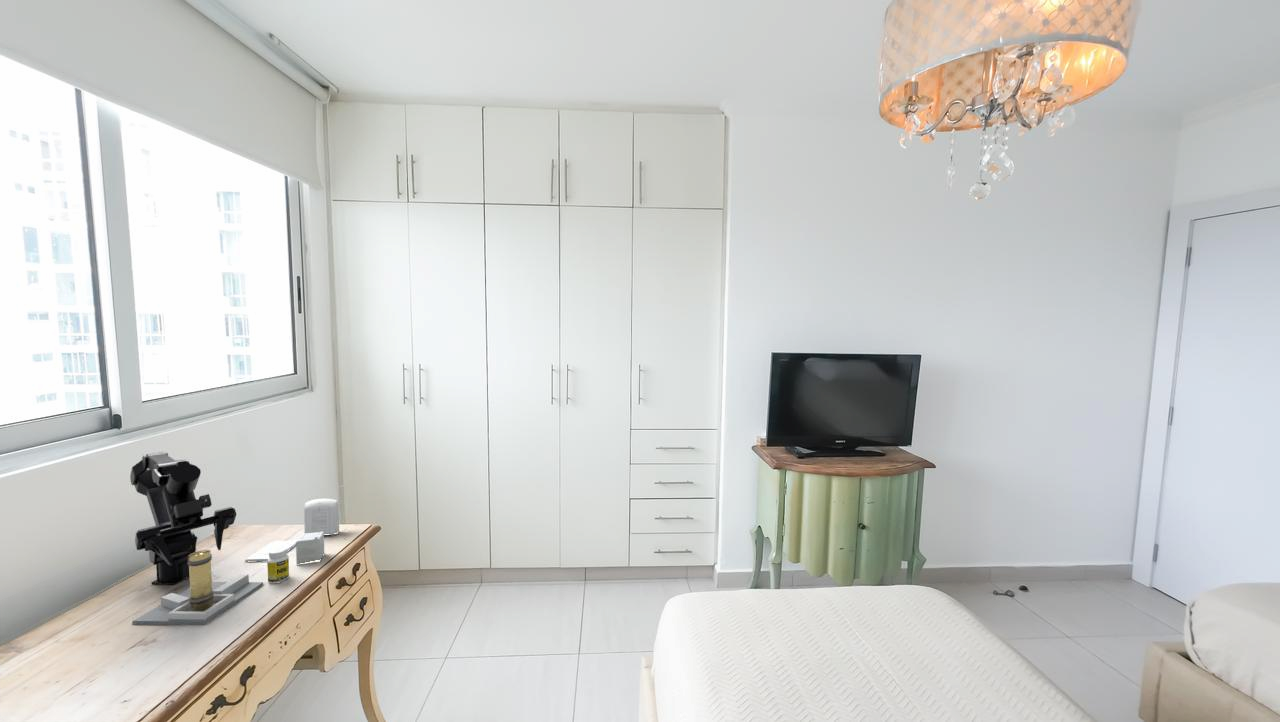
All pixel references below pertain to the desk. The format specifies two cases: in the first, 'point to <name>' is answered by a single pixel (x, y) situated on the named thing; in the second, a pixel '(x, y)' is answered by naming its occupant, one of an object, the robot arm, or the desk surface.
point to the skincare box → (309, 547)
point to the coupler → (200, 580)
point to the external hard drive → (264, 552)
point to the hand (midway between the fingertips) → (196, 556)
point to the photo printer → (321, 516)
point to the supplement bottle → (278, 565)
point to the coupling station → (179, 611)
